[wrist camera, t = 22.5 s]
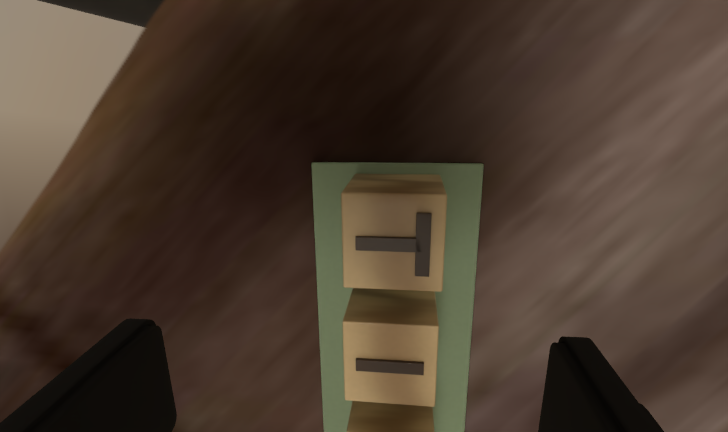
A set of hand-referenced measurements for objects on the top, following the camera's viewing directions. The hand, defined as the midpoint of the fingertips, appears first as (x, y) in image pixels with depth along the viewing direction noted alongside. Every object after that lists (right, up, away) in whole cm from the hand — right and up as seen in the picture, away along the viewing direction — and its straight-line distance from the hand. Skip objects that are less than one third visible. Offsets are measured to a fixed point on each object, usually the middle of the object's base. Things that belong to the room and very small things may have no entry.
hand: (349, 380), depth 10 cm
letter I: (+2, -3, +17) cm, 17 cm away
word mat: (+2, -4, +17) cm, 18 cm away
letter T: (+2, +4, +15) cm, 16 cm away
